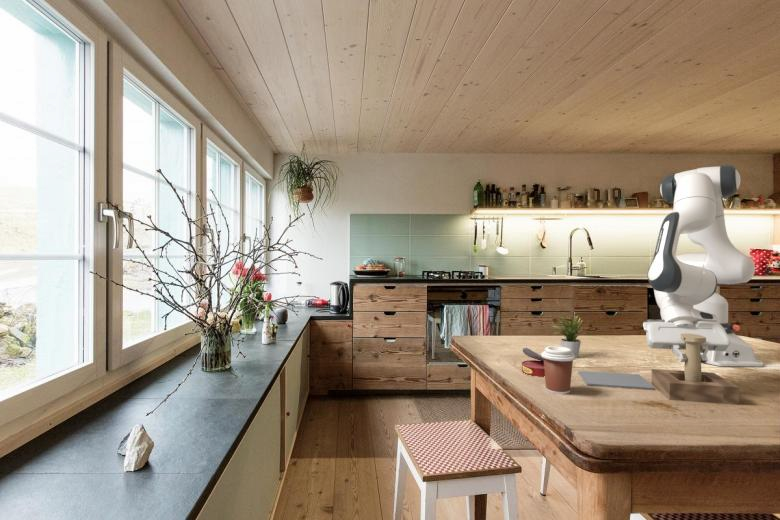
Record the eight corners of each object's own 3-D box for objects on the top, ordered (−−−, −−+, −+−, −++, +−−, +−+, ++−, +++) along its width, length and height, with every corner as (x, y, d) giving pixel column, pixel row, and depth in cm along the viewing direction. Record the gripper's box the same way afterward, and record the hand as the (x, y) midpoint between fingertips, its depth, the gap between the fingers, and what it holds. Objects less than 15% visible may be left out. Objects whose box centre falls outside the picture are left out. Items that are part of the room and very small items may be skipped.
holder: (712, 388, 126) (713, 372, 126) (738, 404, 113) (739, 387, 113) (651, 384, 130) (651, 369, 130) (669, 399, 117) (669, 382, 117)
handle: (693, 385, 125) (693, 333, 125) (709, 392, 119) (710, 338, 118) (676, 385, 125) (676, 333, 125) (692, 393, 119) (692, 338, 118)
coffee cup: (557, 397, 118) (557, 353, 118) (534, 388, 127) (534, 346, 126) (582, 393, 122) (582, 350, 122) (557, 384, 130) (558, 344, 130)
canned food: (522, 383, 146) (518, 354, 151) (554, 382, 144) (548, 352, 149) (523, 376, 137) (519, 345, 141) (557, 374, 135) (552, 343, 139)
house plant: (556, 349, 176) (556, 309, 175) (593, 354, 167) (593, 312, 167) (545, 356, 164) (546, 313, 164) (585, 362, 156) (585, 316, 156)
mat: (639, 376, 138) (639, 374, 138) (654, 390, 125) (654, 387, 125) (578, 372, 143) (578, 370, 143) (586, 385, 129) (586, 383, 129)
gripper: (643, 313, 131) (654, 353, 121) (722, 315, 126) (740, 357, 116) (639, 325, 135) (649, 365, 126) (715, 327, 130) (731, 369, 121)
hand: (693, 361), depth 121 cm, fingers closed on handle, 3 cm apart
